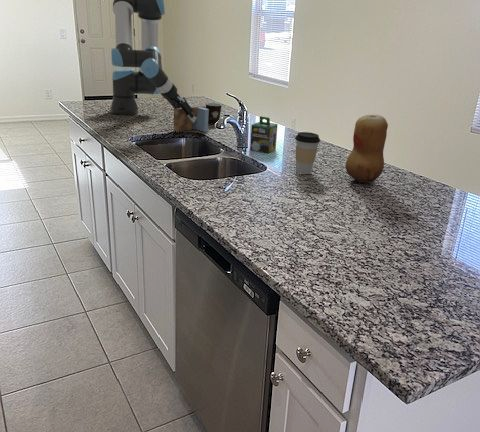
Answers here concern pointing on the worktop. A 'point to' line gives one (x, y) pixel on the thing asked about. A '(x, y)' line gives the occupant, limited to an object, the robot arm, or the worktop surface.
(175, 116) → the walnut board
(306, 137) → the coffee cup
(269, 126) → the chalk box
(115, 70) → the robot arm
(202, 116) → the slate-blue board
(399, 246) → the worktop surface
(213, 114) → the coffee mug
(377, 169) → the butternut squash
